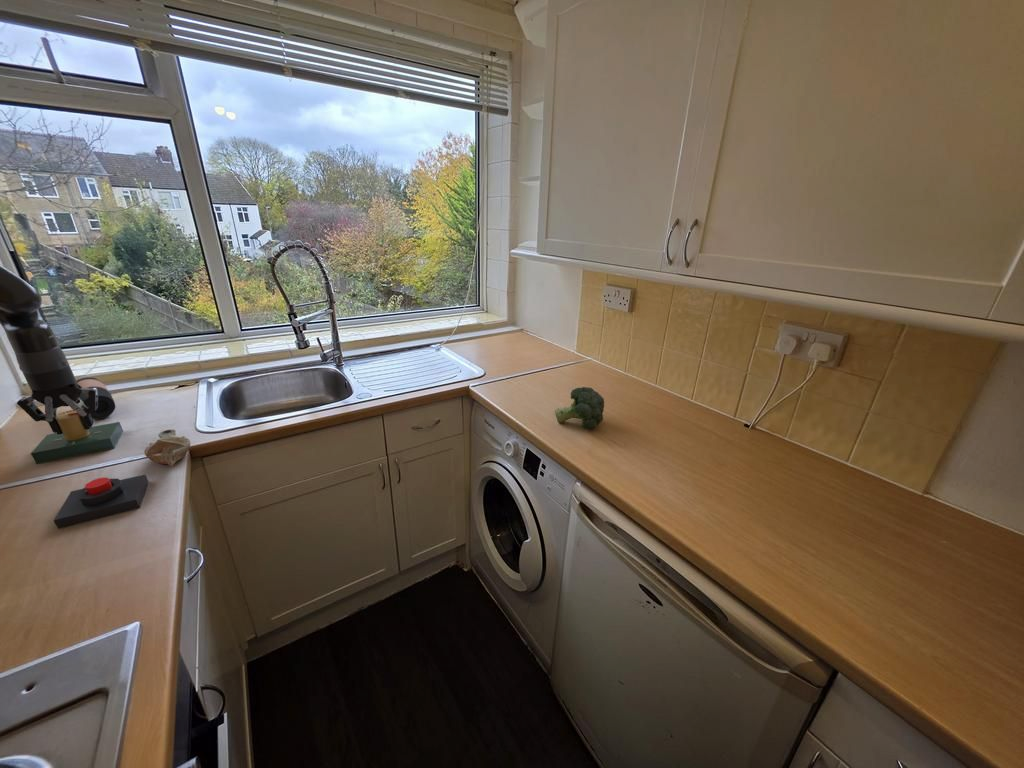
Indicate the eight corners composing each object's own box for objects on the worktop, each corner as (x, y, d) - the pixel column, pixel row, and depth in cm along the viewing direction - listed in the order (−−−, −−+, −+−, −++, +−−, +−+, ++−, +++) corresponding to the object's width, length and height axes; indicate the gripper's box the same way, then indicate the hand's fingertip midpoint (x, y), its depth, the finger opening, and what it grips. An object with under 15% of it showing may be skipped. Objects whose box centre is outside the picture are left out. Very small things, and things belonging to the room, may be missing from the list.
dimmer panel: (36, 464, 96) (30, 452, 95) (51, 444, 104) (46, 434, 103) (114, 448, 103) (109, 437, 102) (123, 431, 111) (119, 421, 110)
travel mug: (80, 422, 114) (72, 402, 125) (118, 417, 119) (107, 398, 131) (76, 396, 112) (68, 378, 124) (115, 392, 117) (104, 375, 129)
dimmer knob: (63, 442, 100) (52, 419, 97) (69, 434, 103) (58, 412, 101) (87, 437, 102) (77, 415, 99) (92, 430, 105) (82, 408, 103)
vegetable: (557, 402, 127) (603, 386, 122) (567, 441, 122) (615, 426, 118) (544, 392, 117) (593, 375, 112) (554, 435, 112) (606, 418, 107)
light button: (85, 497, 80) (82, 490, 79) (91, 487, 83) (87, 480, 82) (110, 491, 82) (106, 484, 81) (114, 482, 85) (111, 475, 84)
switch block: (58, 529, 77) (48, 512, 75) (75, 499, 85) (67, 484, 83) (139, 508, 83) (133, 492, 81) (148, 482, 91) (142, 467, 89)
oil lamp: (148, 484, 90) (132, 446, 86) (149, 444, 105) (136, 410, 101) (196, 470, 95) (183, 433, 91) (190, 434, 110) (179, 401, 106)
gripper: (91, 357, 101) (116, 417, 108) (8, 367, 95) (40, 431, 101) (82, 366, 96) (109, 430, 102) (-7, 377, 89) (28, 444, 95)
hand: (75, 430), depth 102 cm, fingers closed on dimmer knob, 4 cm apart
